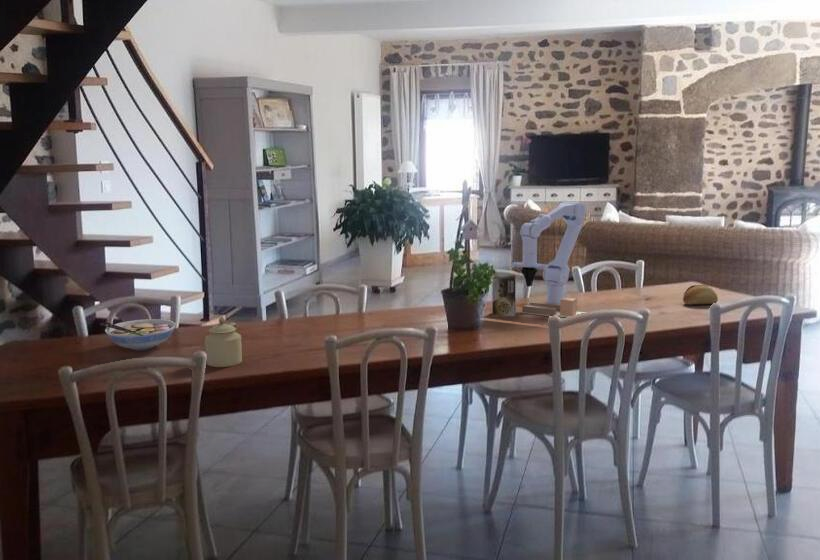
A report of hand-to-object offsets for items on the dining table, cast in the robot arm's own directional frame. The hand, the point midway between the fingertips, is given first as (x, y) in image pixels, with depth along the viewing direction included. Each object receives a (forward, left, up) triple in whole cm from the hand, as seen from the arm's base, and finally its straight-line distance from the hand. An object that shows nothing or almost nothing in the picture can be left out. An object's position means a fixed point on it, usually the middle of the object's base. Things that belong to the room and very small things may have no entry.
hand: (529, 286), depth 305 cm
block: (+4, +18, -9) cm, 20 cm away
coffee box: (+16, -4, -10) cm, 19 cm away
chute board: (+4, +13, -10) cm, 17 cm away
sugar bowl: (+114, -57, -10) cm, 128 cm away
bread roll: (-44, +58, -10) cm, 73 cm away
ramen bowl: (+116, -93, -10) cm, 149 cm away
